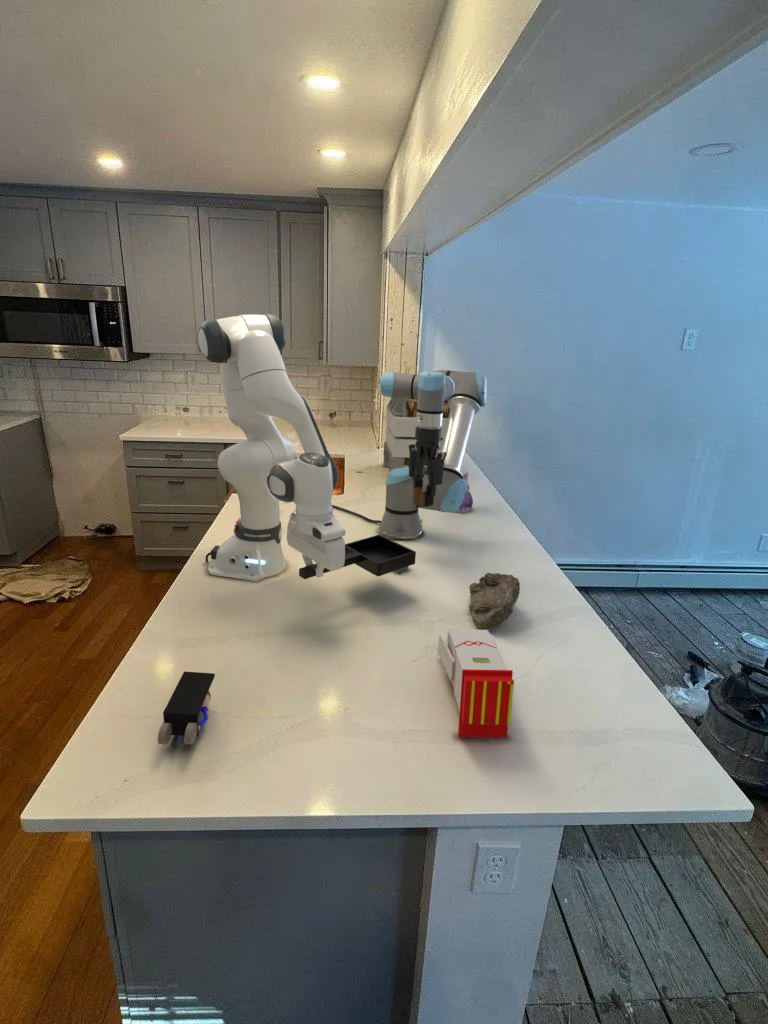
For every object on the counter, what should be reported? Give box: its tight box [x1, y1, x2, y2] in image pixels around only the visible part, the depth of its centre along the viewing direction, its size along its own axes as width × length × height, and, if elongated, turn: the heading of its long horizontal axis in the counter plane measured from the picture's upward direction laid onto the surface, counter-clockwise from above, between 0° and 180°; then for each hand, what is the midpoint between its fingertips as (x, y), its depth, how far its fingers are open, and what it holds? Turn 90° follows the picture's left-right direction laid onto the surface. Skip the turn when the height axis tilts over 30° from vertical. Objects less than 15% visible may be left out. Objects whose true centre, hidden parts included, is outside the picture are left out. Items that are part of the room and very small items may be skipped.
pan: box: [298, 533, 417, 580], centre depth 148 cm, size 15×31×4 cm, turn 131°
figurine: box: [455, 472, 474, 514], centre depth 225 cm, size 9×10×15 cm
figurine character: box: [157, 670, 216, 749], centre depth 104 cm, size 7×8×15 cm
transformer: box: [383, 397, 462, 473], centre depth 268 cm, size 34×33×41 cm
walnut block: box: [413, 486, 426, 507], centre depth 171 cm, size 4×4×5 cm
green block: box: [393, 566, 409, 574], centre depth 172 cm, size 4×4×5 cm
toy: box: [437, 628, 515, 738], centre depth 117 cm, size 12×13×30 cm
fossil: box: [468, 572, 521, 630], centre depth 149 cm, size 22×10×15 cm
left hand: (314, 573), depth 141 cm, fingers closed on pan, 2 cm apart
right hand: (423, 503), depth 172 cm, fingers closed on walnut block, 4 cm apart
